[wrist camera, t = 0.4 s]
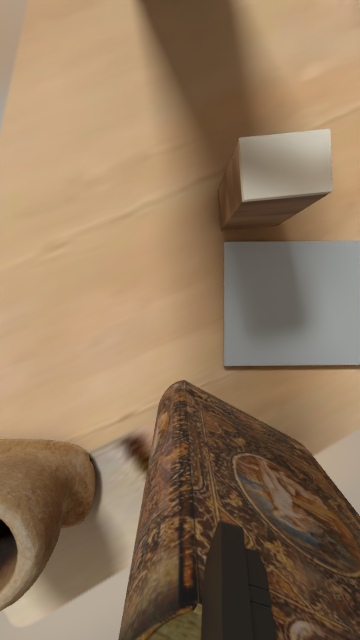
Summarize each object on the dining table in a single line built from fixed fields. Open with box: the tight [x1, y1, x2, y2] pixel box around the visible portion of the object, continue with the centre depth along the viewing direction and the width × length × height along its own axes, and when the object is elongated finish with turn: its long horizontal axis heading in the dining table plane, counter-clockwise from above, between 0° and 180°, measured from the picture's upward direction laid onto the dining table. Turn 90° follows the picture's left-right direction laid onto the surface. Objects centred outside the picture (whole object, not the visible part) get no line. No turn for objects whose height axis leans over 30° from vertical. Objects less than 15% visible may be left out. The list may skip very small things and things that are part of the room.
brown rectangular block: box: [218, 129, 333, 230], centre depth 28 cm, size 4×6×12 cm, turn 95°
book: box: [119, 380, 360, 640], centre depth 24 cm, size 16×6×25 cm, turn 61°
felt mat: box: [223, 241, 360, 366], centre depth 34 cm, size 13×15×1 cm
